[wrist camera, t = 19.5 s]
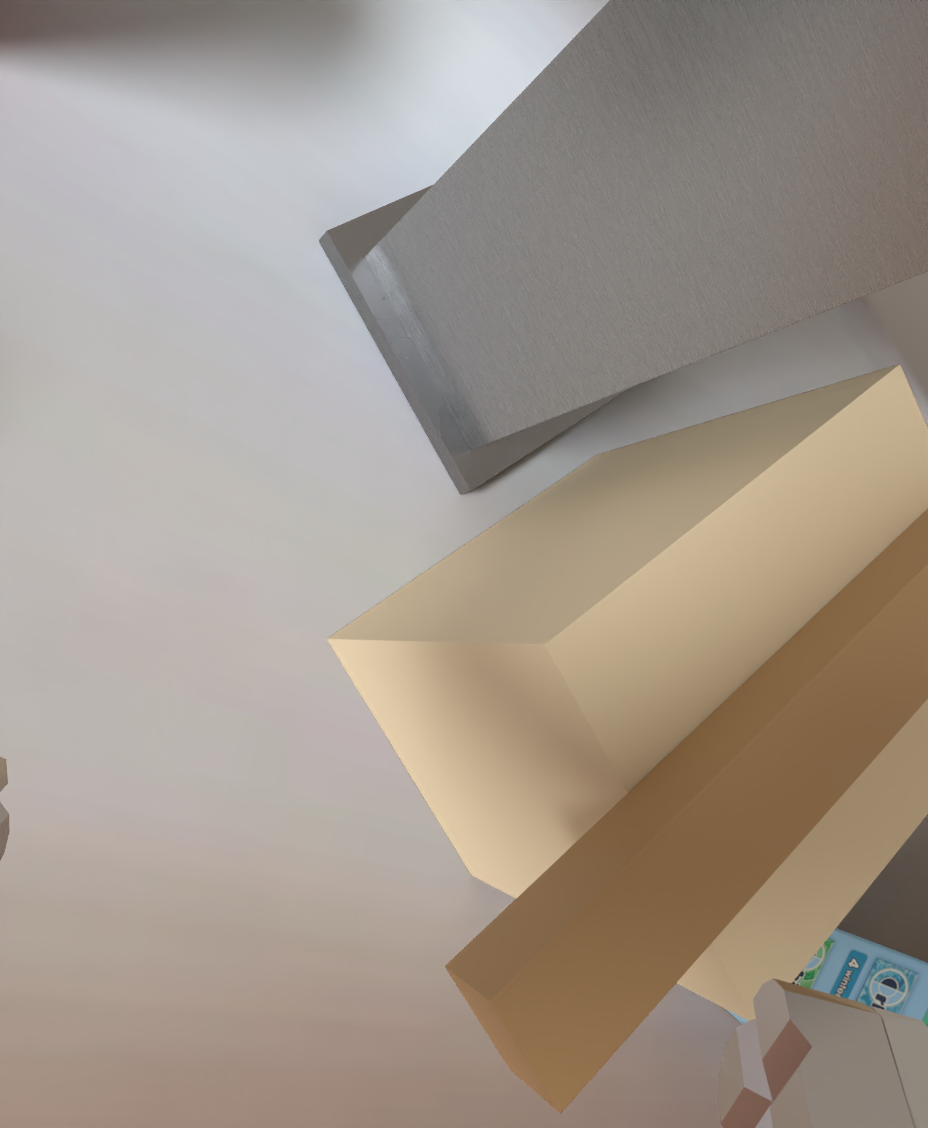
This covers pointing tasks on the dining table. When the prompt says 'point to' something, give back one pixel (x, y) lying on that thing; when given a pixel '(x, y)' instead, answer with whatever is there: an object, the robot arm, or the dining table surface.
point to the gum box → (867, 975)
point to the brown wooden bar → (700, 833)
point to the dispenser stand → (648, 213)
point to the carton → (655, 649)
